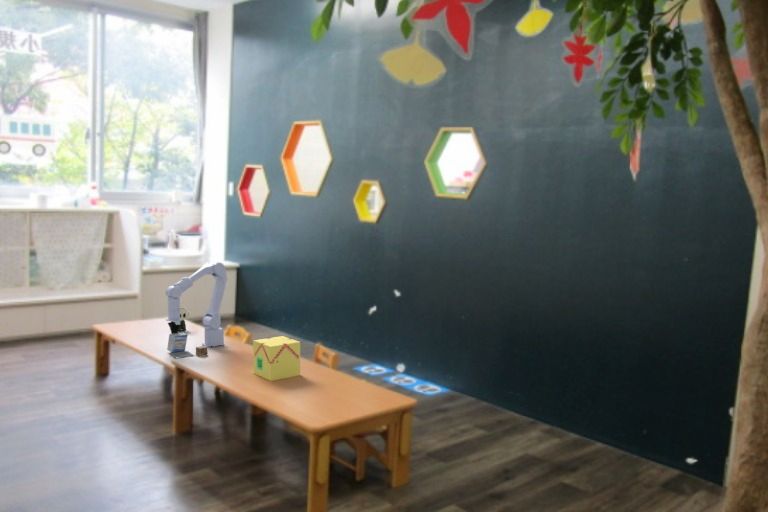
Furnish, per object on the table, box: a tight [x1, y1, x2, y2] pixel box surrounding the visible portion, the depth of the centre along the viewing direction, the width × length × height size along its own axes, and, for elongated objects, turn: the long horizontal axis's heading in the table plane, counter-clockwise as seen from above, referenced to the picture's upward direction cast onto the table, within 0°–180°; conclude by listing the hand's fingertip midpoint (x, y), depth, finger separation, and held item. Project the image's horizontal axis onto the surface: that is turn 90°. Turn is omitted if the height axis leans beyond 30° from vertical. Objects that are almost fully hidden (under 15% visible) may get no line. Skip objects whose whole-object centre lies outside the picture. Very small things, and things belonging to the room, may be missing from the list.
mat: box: [169, 350, 194, 358], centre depth 318 cm, size 9×10×1 cm
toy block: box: [252, 335, 301, 382], centre depth 286 cm, size 15×15×15 cm
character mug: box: [178, 307, 190, 332], centre depth 373 cm, size 11×7×13 cm, turn 127°
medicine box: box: [166, 331, 188, 353], centre depth 324 cm, size 8×4×9 cm, turn 143°
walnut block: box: [195, 345, 209, 357], centre depth 318 cm, size 4×4×4 cm
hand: (174, 336), depth 326 cm, fingers closed
